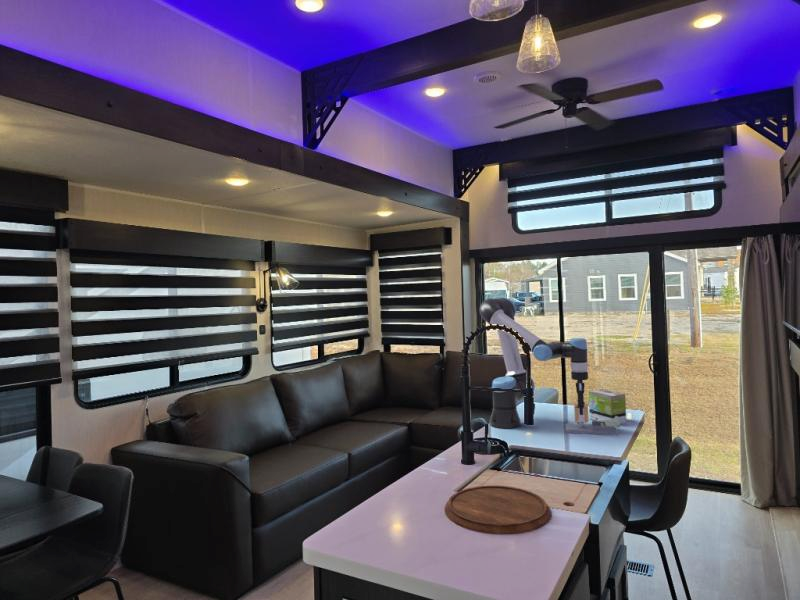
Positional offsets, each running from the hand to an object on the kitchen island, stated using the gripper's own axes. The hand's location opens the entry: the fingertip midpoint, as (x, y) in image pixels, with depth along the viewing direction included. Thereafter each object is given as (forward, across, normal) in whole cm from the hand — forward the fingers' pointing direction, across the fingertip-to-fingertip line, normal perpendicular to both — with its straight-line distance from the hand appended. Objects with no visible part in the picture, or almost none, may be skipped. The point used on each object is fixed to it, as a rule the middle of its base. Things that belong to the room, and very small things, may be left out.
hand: (581, 419), depth 246 cm
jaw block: (0, 0, 0) cm, 0 cm away
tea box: (+5, +20, -13) cm, 24 cm away
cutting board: (+6, -100, +27) cm, 104 cm away
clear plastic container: (+5, 0, -4) cm, 6 cm away
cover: (+2, 0, -13) cm, 13 cm away
